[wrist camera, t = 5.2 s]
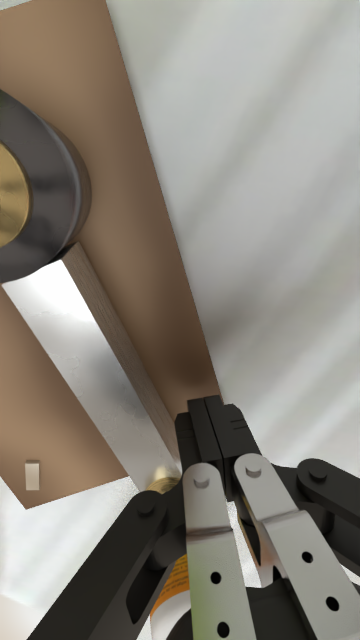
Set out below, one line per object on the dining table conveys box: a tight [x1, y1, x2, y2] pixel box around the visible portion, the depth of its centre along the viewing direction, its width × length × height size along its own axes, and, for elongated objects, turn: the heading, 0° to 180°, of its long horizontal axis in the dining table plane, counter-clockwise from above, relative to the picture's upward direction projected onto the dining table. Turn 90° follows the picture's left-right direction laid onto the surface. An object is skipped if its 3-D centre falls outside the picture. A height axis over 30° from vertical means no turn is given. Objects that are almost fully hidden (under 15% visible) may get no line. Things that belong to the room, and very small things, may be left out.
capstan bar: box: [0, 89, 182, 494], centre depth 13 cm, size 17×5×5 cm, turn 21°
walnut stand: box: [0, 0, 224, 509], centre depth 15 cm, size 13×21×2 cm, turn 16°
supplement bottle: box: [150, 554, 191, 640], centre depth 19 cm, size 5×5×10 cm
